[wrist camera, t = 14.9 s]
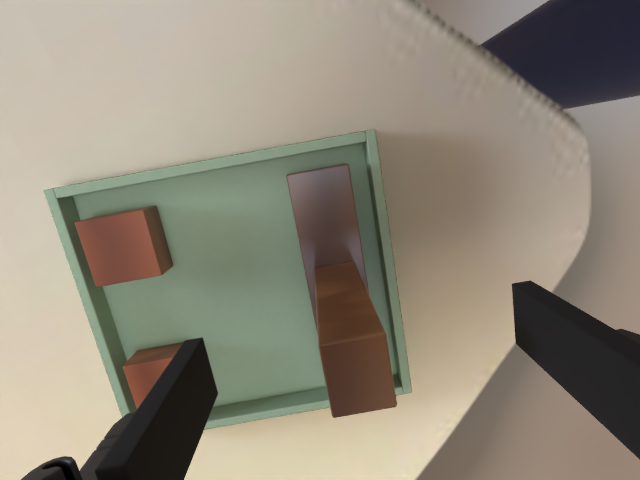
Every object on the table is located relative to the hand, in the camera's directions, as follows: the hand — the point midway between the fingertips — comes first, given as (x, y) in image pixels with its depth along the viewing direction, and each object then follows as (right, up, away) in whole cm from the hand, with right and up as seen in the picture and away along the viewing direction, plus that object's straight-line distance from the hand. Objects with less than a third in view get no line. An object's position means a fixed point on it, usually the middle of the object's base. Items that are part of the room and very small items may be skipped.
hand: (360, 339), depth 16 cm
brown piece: (-1, +2, +9) cm, 9 cm away
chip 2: (-12, -5, +10) cm, 16 cm away
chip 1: (-13, +4, +8) cm, 16 cm away
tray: (-7, +1, +9) cm, 11 cm away
